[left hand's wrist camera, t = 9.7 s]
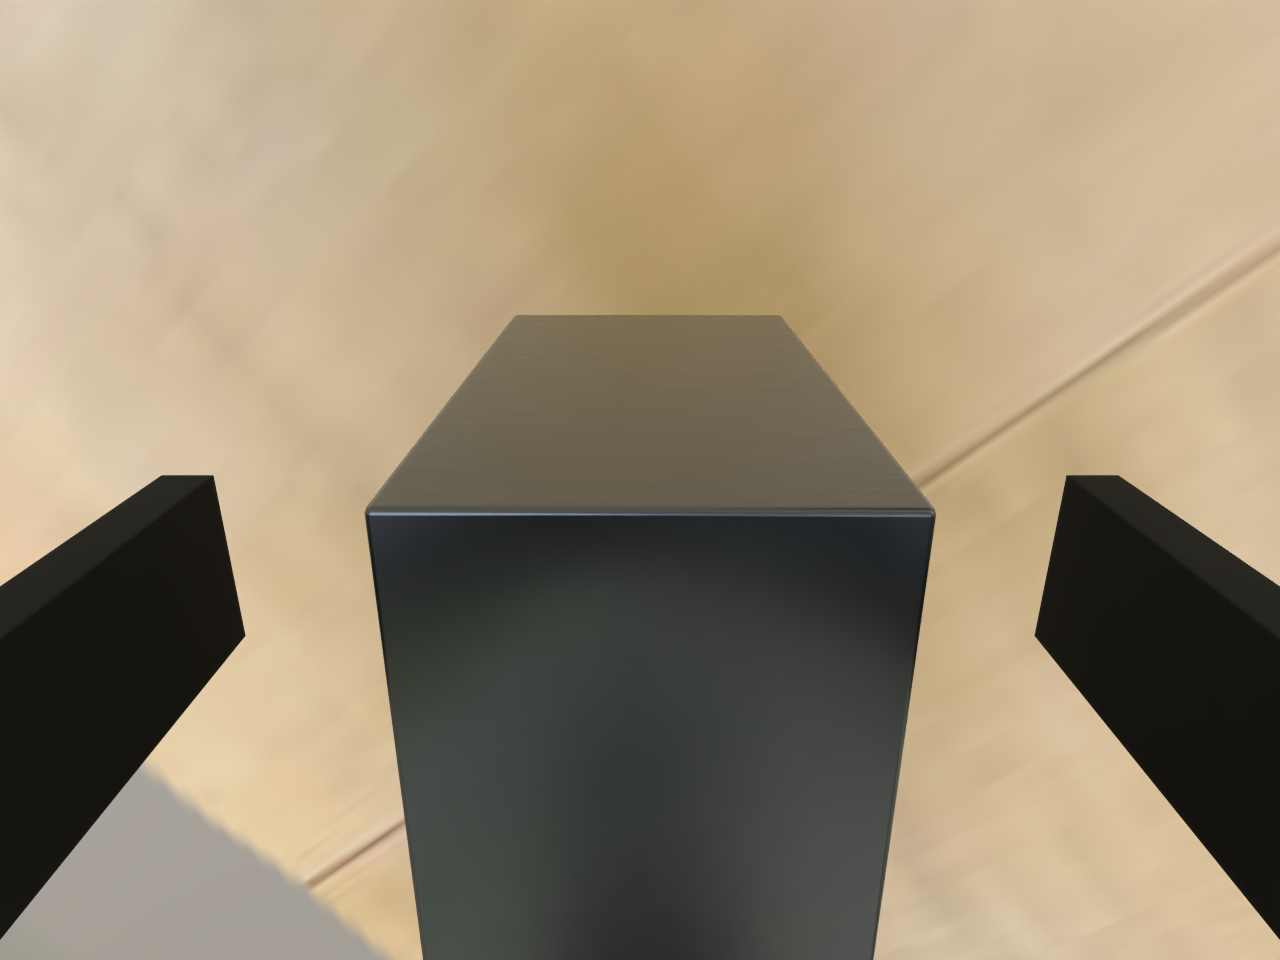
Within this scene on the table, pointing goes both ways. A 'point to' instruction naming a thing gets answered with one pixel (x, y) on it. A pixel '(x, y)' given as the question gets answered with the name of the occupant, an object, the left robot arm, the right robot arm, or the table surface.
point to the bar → (649, 647)
